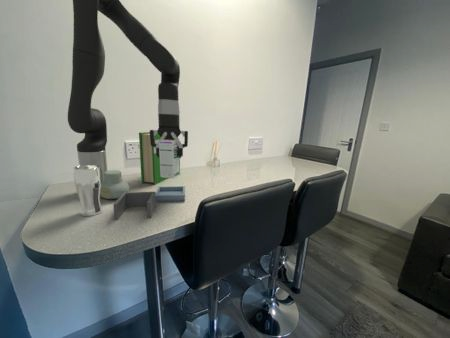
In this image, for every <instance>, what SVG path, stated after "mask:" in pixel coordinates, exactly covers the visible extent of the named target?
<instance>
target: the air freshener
mask: <svg viewBox="0 0 450 338" xmlns="http://www.w3.org/2000/svg"><path fill="white" fill-rule="evenodd" d="M130 189H131V188H130V185H129V183H127V182H126V181H123V177H122V171H121V170H119V169H118V170H117V169H112V170H108V171H106V172H104V183H103V184H101V195H100V198H104V199H106V200H115V199H116V200H117V199H118V198H119V197H120V196H121V195H122V194H123V193H124V192H130Z"/></svg>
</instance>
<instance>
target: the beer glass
mask: <svg viewBox="0 0 450 338" xmlns="http://www.w3.org/2000/svg"><path fill="white" fill-rule="evenodd" d="M73 181H74V188H75V190H76V193H77V196H78V199H79V202H80V216H83V217H92V216H96V215H100V214H101V213H102V212H103V211H104V209H103V207H102V203H101V196H100V195H101V174H100V169H99V166H98V165H82V166H79V165H77V166H74V167H73Z"/></svg>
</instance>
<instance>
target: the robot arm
mask: <svg viewBox="0 0 450 338" xmlns="http://www.w3.org/2000/svg"><path fill="white" fill-rule="evenodd" d="M72 9H73V44H72V60H71V61H72V70H71V71H72V73H71V88H70V97H69V102H68V109H67V123H68V125H69V128H70V129H71V130H72V131H73V132H75V133H78V134H84V138H83V139H82V140H81V141H79V142H78V143H77V144H76V150H77V157H78V158H77V159H78V166H82V165H98V166H99V169H100V174H101V184H103V183H104V172H106V171H109V170H108V162H107V161H108V160H107V151H106V146H107V143H108V128H107V120H106V117H105V115H104V113H103V112H102V111H101V110H100V109H97V108H94V107H93V108H92V99H93V94H94V92H95V90H96V88H97V87H98V85H99V84H100V82H101V81H102V78H103V77H104V73H105V66H106V52H105V51H106V50H105V46H104V43H103V39H102V35H101V32H100V29H99V22H98V19H99V18H98V14H99V13H98V12H100V13H101V14H102V15H103V16H105V17H106V18H107V19H109V20H110V21H112V23H114V24H115V25H116V27H118V28H119V29H120V31H121V32H122V33H123V35H124V36H125V38H126V39H127V40H128V41H129V42H130V43H132V45H133V46H134V47H135V48H136V49H137V50H138V51H139V52H140V53H141V54H142V55H143V56H144V57H146V58H147V60H148V61H149V62H150V63H151V64H152V65H153V66H154V68H155V69H156V70H158V72H160V74H161V75H160V79H161V80H160V83H159V84H158V86H157V92H158V93H157V95H158V96H157V97H158V104H157V117H158V129H156V130H155V129H150V130H149V132H150V143H151V146H153V147H155V148H156V155H157V156H158V158H160V155H159V142H160V141H161V140H175V141H176V143H177V144H178V146H179V158H180V159H181V158H182V157H183V156H184V151H183V150H184V148H186V147H188V145H189V144H188V142H189V141H188V140H189V131H188V130H181V128H180V124H181V123H180V103H179V85H180V83H179V82H180V77H181V69H180V62H179V61H178V59H176V57H175V55H173V53H172V52H171V51H170V50H168V49H167V47H165V46H164V45H163V44H162V43H161V42H159V40H158V39H157V37H155V36H154V34H153V33H152V32H151V31H150V30H149V29H148V28H147V27H146V26H145V25H144V24H143V23H142V22H141V21H140V20H138V19H137V18H136V17H135V16H134V15H132V13H130V12H129V10H128V9H127V8H126V7H125V5H124V4H122V2H121V1H120V0H72ZM156 133H158V134H159V135H160V137H161V138H160V140H159V142H158V143H157V144H156V143H155V137H154V136H156ZM180 135H182V137H184V140H183V143H182V142H181V141H180V139H179V136H180Z"/></svg>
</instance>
